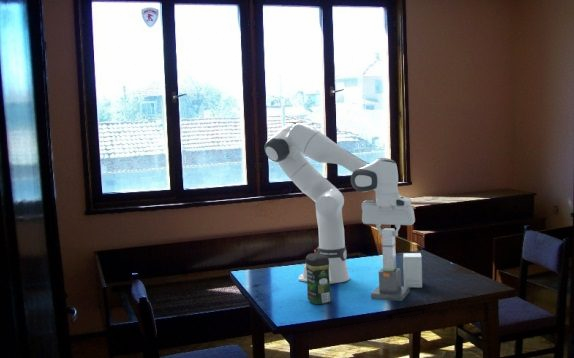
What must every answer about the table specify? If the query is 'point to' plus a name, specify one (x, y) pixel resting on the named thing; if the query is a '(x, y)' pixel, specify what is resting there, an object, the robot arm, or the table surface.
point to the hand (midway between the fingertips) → (388, 235)
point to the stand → (390, 286)
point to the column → (388, 250)
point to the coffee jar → (318, 278)
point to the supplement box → (412, 269)
